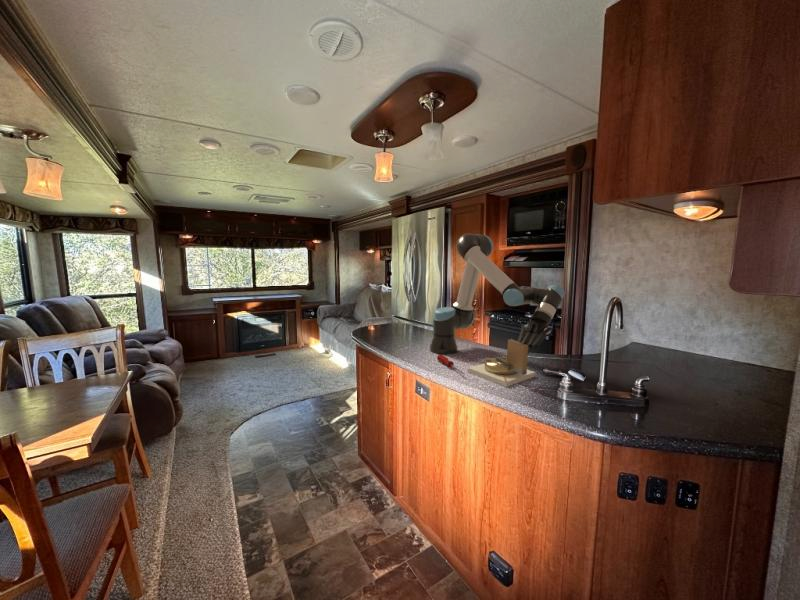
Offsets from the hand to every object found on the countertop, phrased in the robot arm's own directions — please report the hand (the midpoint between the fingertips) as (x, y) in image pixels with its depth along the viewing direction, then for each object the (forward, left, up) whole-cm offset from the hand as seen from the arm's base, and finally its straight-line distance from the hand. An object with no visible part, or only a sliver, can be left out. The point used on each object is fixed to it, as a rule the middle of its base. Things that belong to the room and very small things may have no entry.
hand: (518, 359), depth 131 cm
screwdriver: (-26, -13, -9) cm, 31 cm away
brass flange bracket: (-5, -1, -7) cm, 8 cm away
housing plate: (-8, 0, -9) cm, 12 cm away
